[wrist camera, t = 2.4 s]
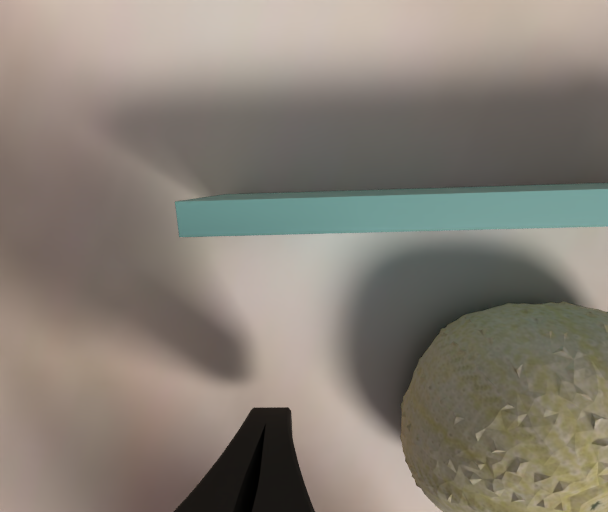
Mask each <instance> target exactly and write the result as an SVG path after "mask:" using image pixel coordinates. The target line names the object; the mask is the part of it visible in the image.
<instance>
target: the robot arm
mask: <svg viewBox="0 0 608 512" xmlns="http://www.w3.org/2000/svg"><path fill="white" fill-rule="evenodd" d="M174 512H315V511H314V508H313V506H312V503H311V501H310V498H309V495H308V493H307V490H306V487H305V484H304V481H303V477H302V474H301V471H300V468H299V464H298V460H297V456H296V452H295V448H294V444H293V438H292V420H291V410H290V409H289V408H253V409H252V410H251V411H250V413H249V415H248V416H247V418H246V419H245V421H244V423H243V424H242V426H241V427H240V429H239V430H238V432H237V433H236V435H235V436H234V438H233V439H232V441H231V442H230V444H229V445H228V446H227V448H226V449H225V451H224V452H223V453H222V455H221V456H220V458H219V459H218V460H217V461H216V463H215V464H214V465H213V467H212V468H211V469H210V470H209V472H208V473H207V474H206V475H205V477H204V478H203V479H202V480H201V482H200V483H199V484H198V485H197V486H196V488H195V489H194V490H193V491H192V492H191V493H190V494H189V496H188V497H187V498H186V499H185V500H184V501H183V502H182V503H181V504H180V505H179V506H178V508H177V509H176V510H175V511H174Z"/></svg>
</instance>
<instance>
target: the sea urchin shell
mask: <svg viewBox="0 0 608 512" xmlns="http://www.w3.org/2000/svg"><path fill="white" fill-rule="evenodd" d="M400 406H401V410H402V423H401V435H400V438H401V441H402V447H403V452H404V455H405V461H406V463H407V464H408V466H409V469H410V471H411V473H412V477H413V478H414V479H415V482H416V485H417V486H418V487H420V488H421V489H422V491H423V492H424V494H425V495H426V496H427V497H428V498H429V499H430V500H431V501H432V502H433V503H434V504H435V505H436V506H437V507H438V508H439V509H440V510H442V511H443V512H608V312H604V311H601V310H598V309H591V308H586V307H582V306H577V305H573V304H570V303H567V302H564V301H563V302H560V303H554V302H549V303H544V304H525V303H522V304H513V303H506V304H504V305H501V306H496V307H493V308H490V309H487V310H484V311H478V312H473V313H469V314H466V315H463V316H461V317H460V318H459V319H457V320H456V321H454V322H452V323H450V324H448V325H447V327H446V328H441V331H440V333H439V334H438V335H437V336H436V338H435V339H434V340H433V342H432V344H431V345H430V347H429V348H428V349H427V350H426V352H425V353H424V354H423V356H422V357H421V358H419V361H418V365H417V367H416V369H415V371H414V373H413V378H412V381H411V383H410V386H409V388H408V390H407V392H406V393H405V395H404V397H403V402H402V404H401V405H400Z"/></svg>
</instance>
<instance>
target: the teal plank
mask: <svg viewBox="0 0 608 512" xmlns="http://www.w3.org/2000/svg"><path fill="white" fill-rule="evenodd" d="M175 206H176V214H177V222H178V230H179V237H205V236H245V235H284V234H324V233H364V232H404V231H443V230H483V229H523V228H563V227H602V226H608V183H584V184H551V185H518V186H485V187H451V188H418V189H385V190H352V191H319V192H286V193H253V194H224V195H217V196H210V197H203V198H197V199H190V200H183V201H176V202H175Z"/></svg>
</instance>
